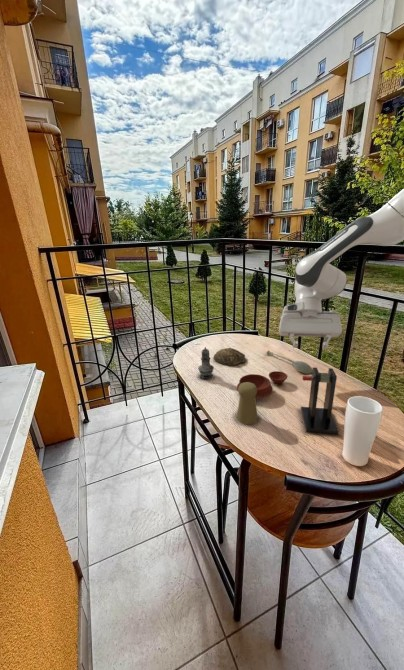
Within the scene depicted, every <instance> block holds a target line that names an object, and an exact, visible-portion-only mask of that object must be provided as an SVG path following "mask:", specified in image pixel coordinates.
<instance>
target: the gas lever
mask: <svg viewBox="0 0 404 670" xmlns="http://www.w3.org/2000/svg"><path fill="white" fill-rule="evenodd" d="M319 374H320V380H319V383H325V384H327V383H329V382H330V379H329V373H328V372H319ZM302 381H309V382H311V381H312V379H311V375H302Z"/></svg>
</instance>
